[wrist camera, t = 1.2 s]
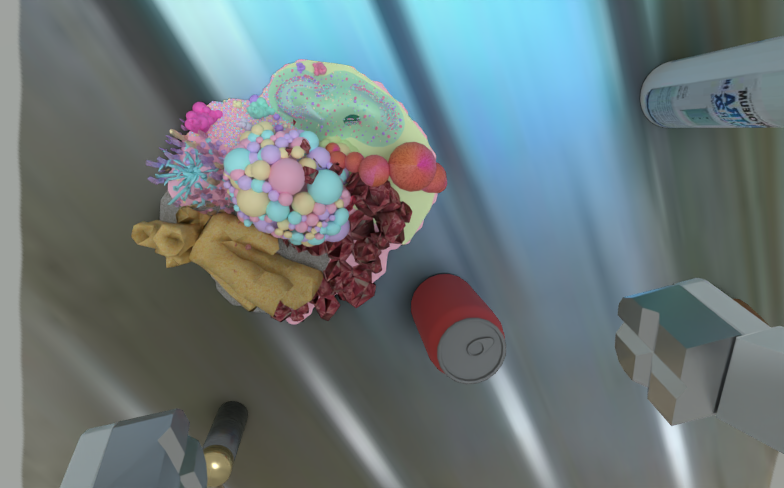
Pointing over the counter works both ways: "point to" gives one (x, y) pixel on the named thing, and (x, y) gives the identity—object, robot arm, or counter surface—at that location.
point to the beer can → (458, 329)
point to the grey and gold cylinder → (224, 442)
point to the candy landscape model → (295, 191)
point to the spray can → (719, 88)
